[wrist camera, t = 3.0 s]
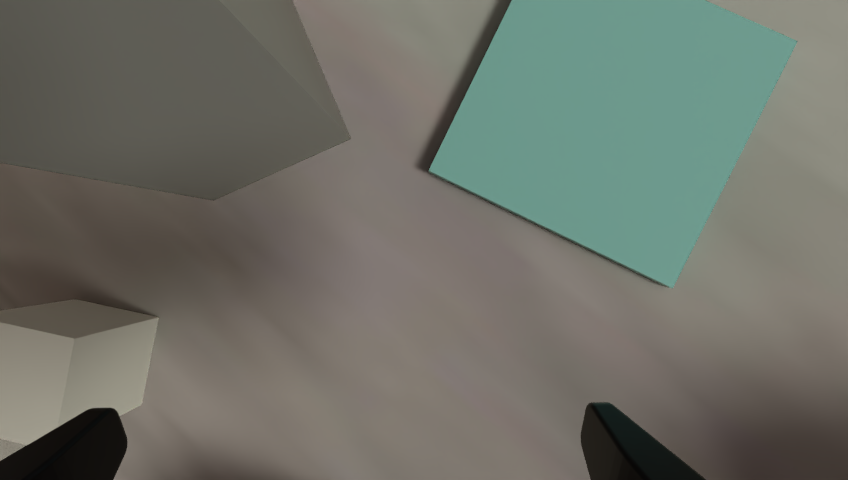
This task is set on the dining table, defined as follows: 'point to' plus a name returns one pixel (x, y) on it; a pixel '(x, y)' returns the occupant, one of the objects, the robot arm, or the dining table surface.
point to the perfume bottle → (162, 92)
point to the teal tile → (614, 121)
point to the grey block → (69, 364)
